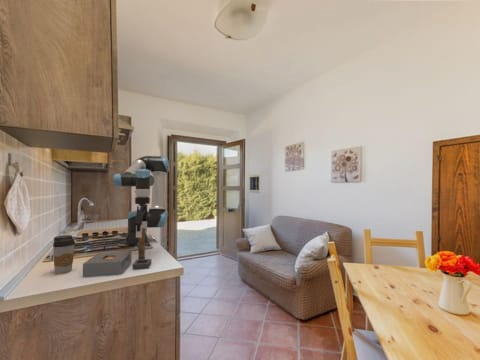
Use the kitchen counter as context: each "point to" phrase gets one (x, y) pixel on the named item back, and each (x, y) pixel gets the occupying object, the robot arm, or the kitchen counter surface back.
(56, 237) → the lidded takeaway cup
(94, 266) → the box
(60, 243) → the coffee cup
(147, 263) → the socket
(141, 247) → the stylus
